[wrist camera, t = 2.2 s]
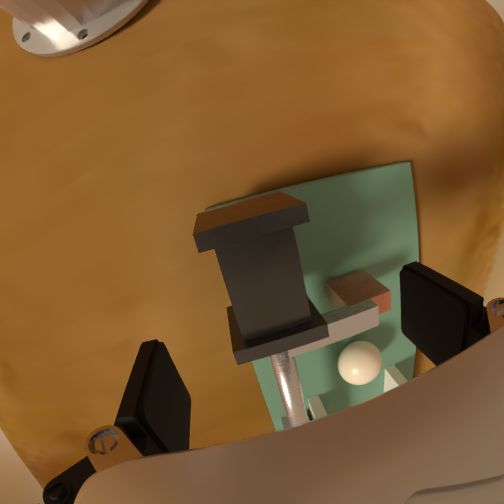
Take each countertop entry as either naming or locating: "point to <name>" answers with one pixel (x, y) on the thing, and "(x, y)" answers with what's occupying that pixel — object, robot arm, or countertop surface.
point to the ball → (359, 362)
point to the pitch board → (346, 262)
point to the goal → (390, 382)
